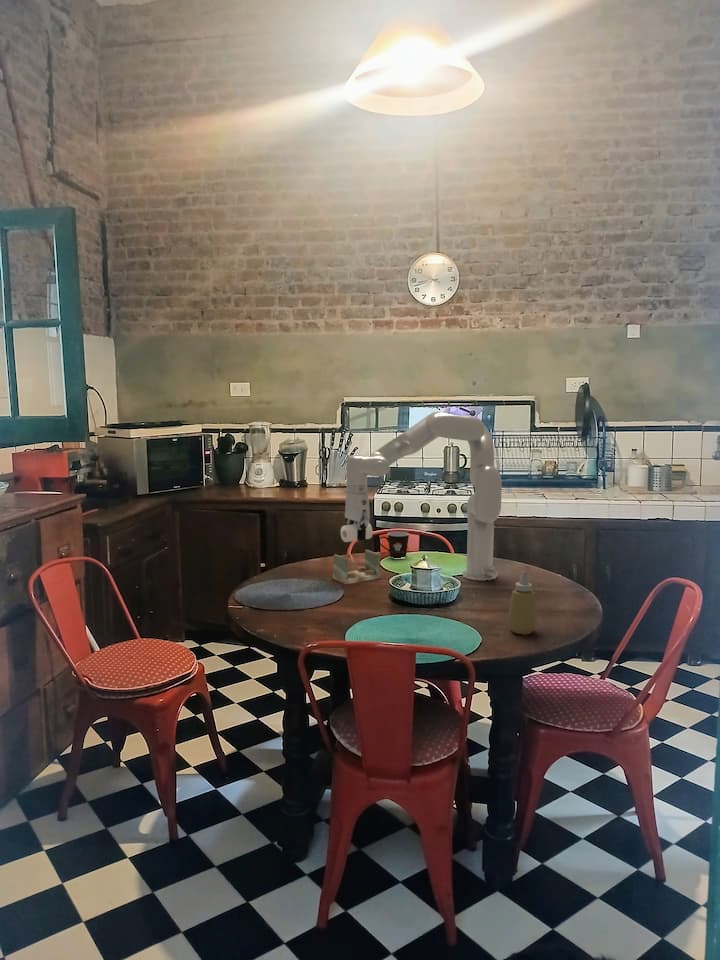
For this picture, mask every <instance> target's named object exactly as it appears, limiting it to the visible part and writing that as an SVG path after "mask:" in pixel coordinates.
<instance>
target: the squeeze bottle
mask: <svg viewBox="0 0 720 960" xmlns="http://www.w3.org/2000/svg"><path fill="white" fill-rule="evenodd" d="M536 606H537V605H536V593H535V592H534V591H533V584H532V583H531V582H529V579H528V574H527V571H526V570H525V571H522V572H521V574H520V578H519V581H517V582H516V583H515V589H514V590H512V592H511V598H510V606H509V611H508V621H509V622H508V623H509V625H510V629H511V632H513V633H514V634H519V635H530V634H532V633H533V631H534V629H535V626H536V623H537V607H536Z"/></svg>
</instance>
